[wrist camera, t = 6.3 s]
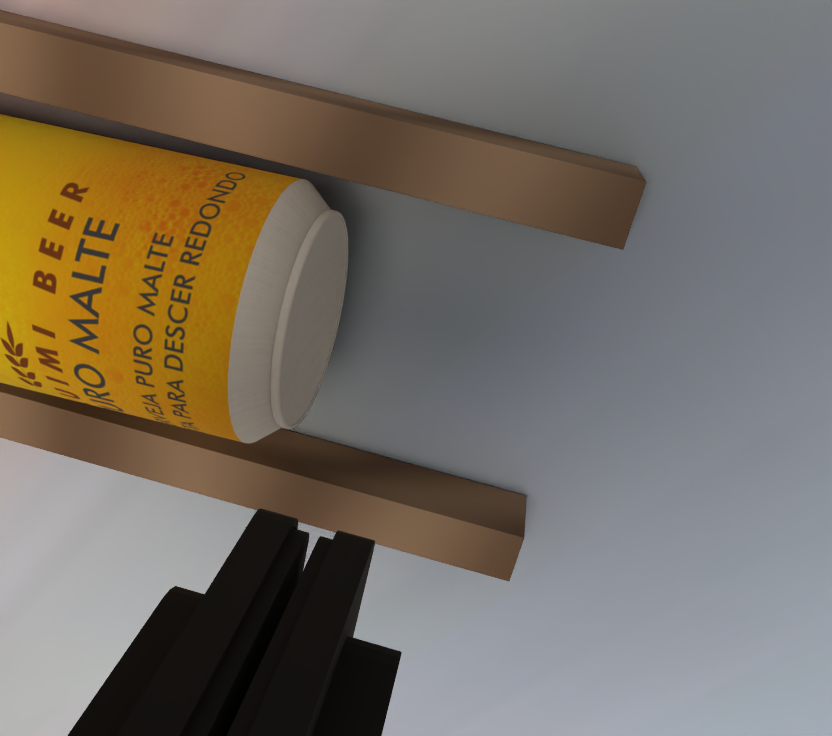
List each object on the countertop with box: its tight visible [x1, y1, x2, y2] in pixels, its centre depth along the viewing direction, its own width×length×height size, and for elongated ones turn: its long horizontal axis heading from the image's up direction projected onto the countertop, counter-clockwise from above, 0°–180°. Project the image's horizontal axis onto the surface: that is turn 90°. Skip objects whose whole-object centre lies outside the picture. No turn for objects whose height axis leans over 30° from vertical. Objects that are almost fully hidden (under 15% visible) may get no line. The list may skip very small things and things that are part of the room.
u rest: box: [0, 10, 646, 581], centre depth 19 cm, size 26×11×4 cm, turn 78°
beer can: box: [0, 114, 348, 443], centre depth 18 cm, size 6×6×15 cm
